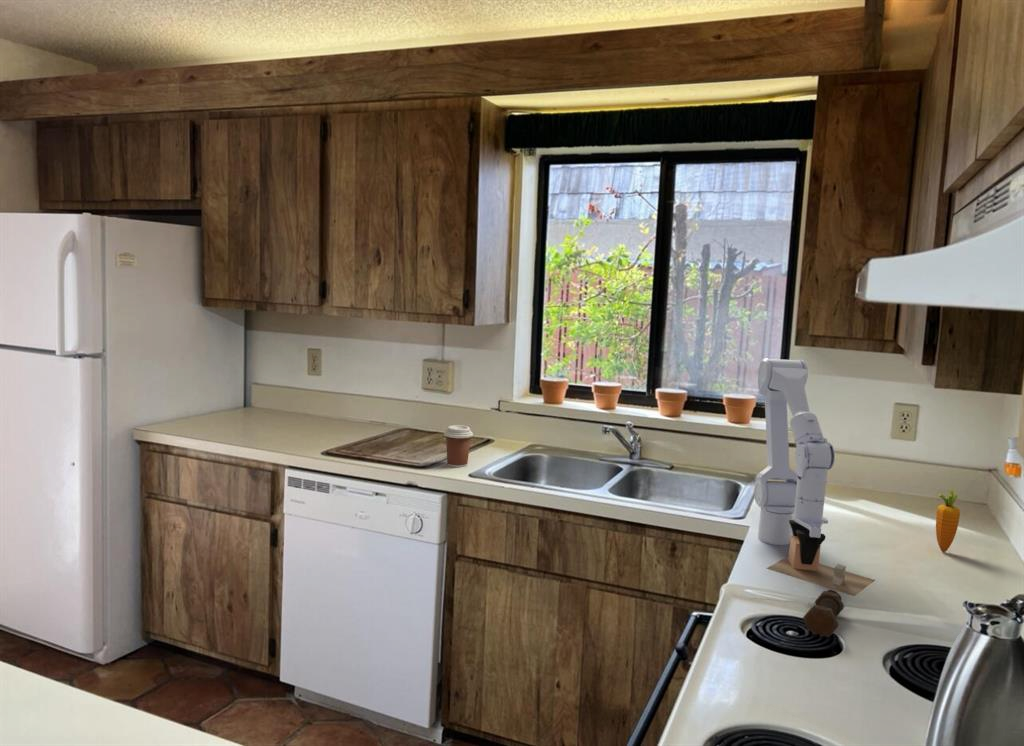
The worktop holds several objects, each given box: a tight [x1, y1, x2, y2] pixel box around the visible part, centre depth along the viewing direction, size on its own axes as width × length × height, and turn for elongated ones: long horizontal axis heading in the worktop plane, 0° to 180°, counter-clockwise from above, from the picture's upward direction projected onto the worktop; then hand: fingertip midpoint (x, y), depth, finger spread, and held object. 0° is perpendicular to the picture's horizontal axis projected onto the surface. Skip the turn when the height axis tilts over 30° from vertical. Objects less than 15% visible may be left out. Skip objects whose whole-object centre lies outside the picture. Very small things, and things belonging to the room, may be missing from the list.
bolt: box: [803, 589, 845, 638], centre depth 141 cm, size 6×5×15 cm
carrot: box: [935, 489, 961, 553], centre depth 181 cm, size 5×5×15 cm
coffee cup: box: [443, 424, 474, 468], centre depth 239 cm, size 9×9×12 cm
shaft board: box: [766, 555, 875, 597], centre depth 160 cm, size 12×18×5 cm, turn 47°
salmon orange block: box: [788, 536, 822, 571], centre depth 164 cm, size 5×5×6 cm
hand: (803, 559), depth 164 cm, fingers closed on salmon orange block, 5 cm apart
